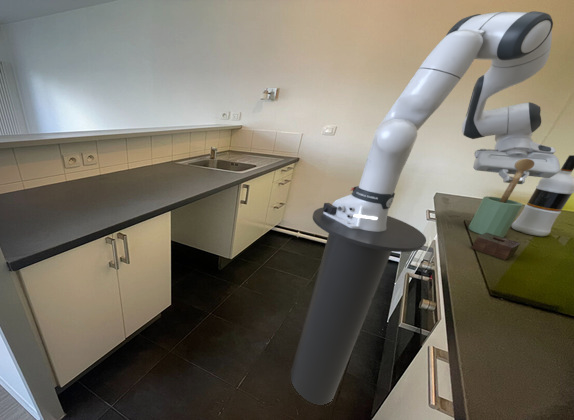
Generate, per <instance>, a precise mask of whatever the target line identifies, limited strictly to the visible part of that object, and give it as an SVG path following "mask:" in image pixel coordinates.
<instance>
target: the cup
mask: <svg viewBox="0 0 574 420" xmlns="http://www.w3.org/2000/svg"><path fill="white" fill-rule="evenodd" d="M501 198H502V197H497V196H488V195H487V196H483V197H482V199H481V202H480V204H479V206H478V207H477V209H476V211H475V214H474V215H473V216H472V219H471V220H470V223H469V224H468V230H469V231H471V232H474V233H476V234H479V235H482V234H484V233H490V234H493V235H496V236H500V237H503V238H505V236H506V235H507V233H508V232H509V230H510V228H511V227H512V226H511V225H512V223H513V222H514V221H515V220H516V219H517V217H518V214H519V212H520V211H521V210H522V207H523V205H524V204H523V203H521V202H519V201H517V200H513V199H508V200H507V202H506V203H502V202H499V201H500V199H501Z"/></svg>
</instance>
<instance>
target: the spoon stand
mask: <svg viewBox="0 0 574 420" xmlns="http://www.w3.org/2000/svg"><path fill="white" fill-rule="evenodd" d="M520 245H521V242H519V241H516V240H513V239H509V238H507V237H500V236H496V235H493V234H490V233H484V234H479V235H478V236H477V237H476V238H475V241H474V242H473V244H472V246H471V249H472V250H474V251H477V252H480V253H482V254H485V255H489V256H492V257H495V258H498V259H500V260H503V261H506V260H508V259H510V258H511V257H513V256H514V255H515V254H516V252H517V250H518V248H519V247H520Z"/></svg>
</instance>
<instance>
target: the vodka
mask: <svg viewBox="0 0 574 420" xmlns="http://www.w3.org/2000/svg"><path fill="white" fill-rule="evenodd" d="M573 171H574V154H572V155H568V157H567V158H566V160H565V161H564V163H563V164H562V166H561V167H560V172H559V173H557V174H556V175H554V176H552V177H550V178H543V177H540V179H539V181H538V183H537V185H536V186H535V190H534V191H533V193H532V194H531V196H530V198H529V199H528V201H527V203H526V204H524V207H523V209H522V210H521V212H520V214H519V215H518V216H517V217H516V218H515V219H514V221H513V223H512V225H511V226H510V227H511V228H512V229H513V230H514V231H516V232H519V233H522V234H526V235H529V236H534V237H547V236H549V235H550V234H551V231H552V227H553V225H554V223H555V222H556V220H557V218H558V217H559V215H560V214H561V213H562V210H563V209H564V207H565V205H566V204H567V203H568V201H569V199H570V198H571V196H572V195H573V194H574V176H573V175H572V173H573Z"/></svg>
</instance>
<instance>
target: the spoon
mask: <svg viewBox="0 0 574 420" xmlns="http://www.w3.org/2000/svg"><path fill="white" fill-rule="evenodd" d="M533 166H534V161H532V160H530V159H521V160H519V161H517V162H516V163H515V168H516V169H517V170H518V171H517V172H516V173H515V174H513V176H512V177H513V178H512V179H513V181H512V182H510V183H508V186H507V187H506V189H505V191H504V192H503V194H502V196H501V197H500V198H501V199H500V201H499V202H502V203H506V202H507V200H509V199H510V197H511V195H512V193H513V191H514V190H515V188H516V187H517V185H518V184H517V183H518V181H519V180H520V178H521V176H522V174H523V173H524V171H526V170H529V169H531V168H532V167H533Z"/></svg>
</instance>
